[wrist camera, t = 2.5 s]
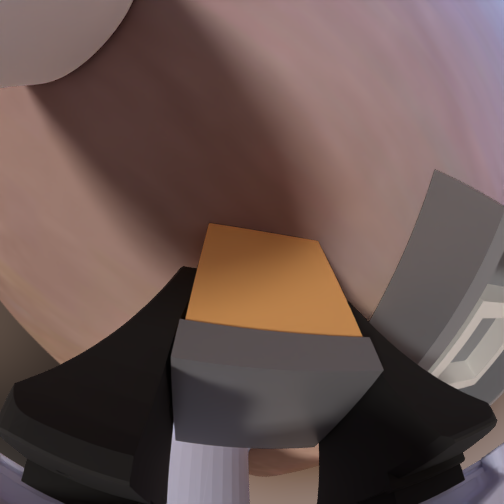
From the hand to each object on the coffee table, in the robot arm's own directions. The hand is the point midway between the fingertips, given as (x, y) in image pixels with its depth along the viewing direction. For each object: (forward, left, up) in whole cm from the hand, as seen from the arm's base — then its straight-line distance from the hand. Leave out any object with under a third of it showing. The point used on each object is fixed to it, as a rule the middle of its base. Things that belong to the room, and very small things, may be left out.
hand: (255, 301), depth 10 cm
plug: (0, 0, -1) cm, 1 cm away
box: (-2, -14, -1) cm, 14 cm away
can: (+10, +9, -2) cm, 14 cm away
